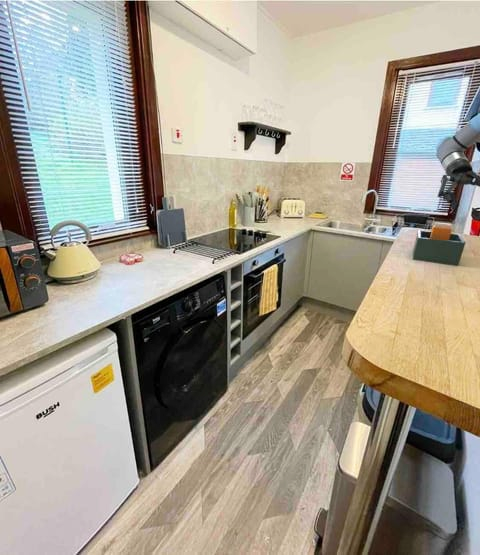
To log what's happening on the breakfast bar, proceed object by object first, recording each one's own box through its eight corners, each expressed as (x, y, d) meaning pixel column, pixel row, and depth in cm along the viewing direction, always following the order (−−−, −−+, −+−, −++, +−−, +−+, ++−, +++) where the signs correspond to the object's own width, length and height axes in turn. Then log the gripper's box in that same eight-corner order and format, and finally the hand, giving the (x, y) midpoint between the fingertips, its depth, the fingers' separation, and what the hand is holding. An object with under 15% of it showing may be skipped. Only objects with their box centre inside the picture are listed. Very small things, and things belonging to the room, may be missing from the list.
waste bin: (454, 255, 97) (460, 234, 94) (458, 265, 87) (465, 242, 84) (413, 250, 103) (418, 230, 100) (412, 259, 93) (418, 237, 90)
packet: (442, 255, 95) (452, 223, 91) (443, 258, 92) (453, 225, 88) (425, 252, 98) (434, 221, 93) (425, 256, 95) (434, 223, 90)
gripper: (489, 170, 108) (514, 208, 96) (418, 179, 113) (434, 216, 102) (499, 153, 101) (528, 191, 90) (424, 164, 107) (442, 201, 96)
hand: (478, 205), depth 96 cm, fingers open, 13 cm apart
